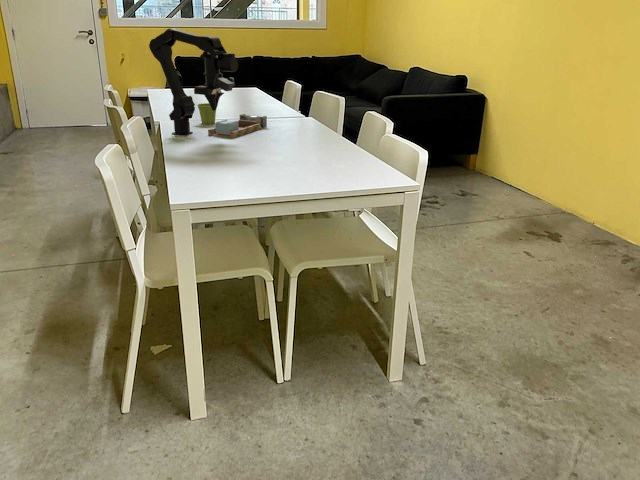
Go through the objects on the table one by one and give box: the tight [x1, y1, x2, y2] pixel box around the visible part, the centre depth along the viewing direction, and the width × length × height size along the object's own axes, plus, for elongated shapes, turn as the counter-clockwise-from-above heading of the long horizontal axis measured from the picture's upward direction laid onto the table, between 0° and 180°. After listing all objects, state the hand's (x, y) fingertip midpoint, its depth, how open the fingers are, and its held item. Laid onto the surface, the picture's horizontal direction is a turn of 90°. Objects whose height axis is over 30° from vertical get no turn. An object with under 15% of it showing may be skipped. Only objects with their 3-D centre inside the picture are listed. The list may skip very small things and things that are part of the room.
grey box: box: [214, 119, 239, 135], centre depth 226 cm, size 7×7×5 cm
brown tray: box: [207, 119, 262, 139], centre depth 232 cm, size 24×12×3 cm, turn 157°
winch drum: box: [239, 113, 268, 129], centre depth 245 cm, size 4×12×5 cm, turn 67°
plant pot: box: [196, 102, 219, 125], centre depth 249 cm, size 9×9×9 cm
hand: (214, 110), depth 215 cm, fingers closed
